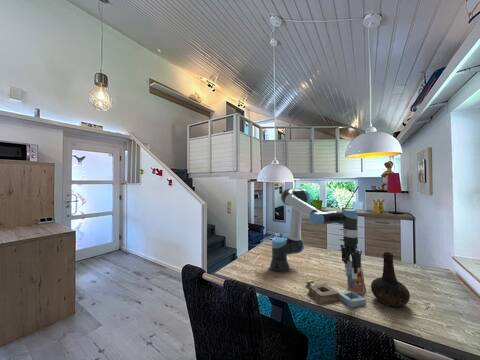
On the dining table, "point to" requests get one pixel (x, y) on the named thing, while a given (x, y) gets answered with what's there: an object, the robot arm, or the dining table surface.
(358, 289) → the milk carton
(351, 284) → the grey round-ended peg
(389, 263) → the glass bottle
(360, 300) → the square frame
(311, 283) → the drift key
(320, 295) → the socket block
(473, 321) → the dining table surface
